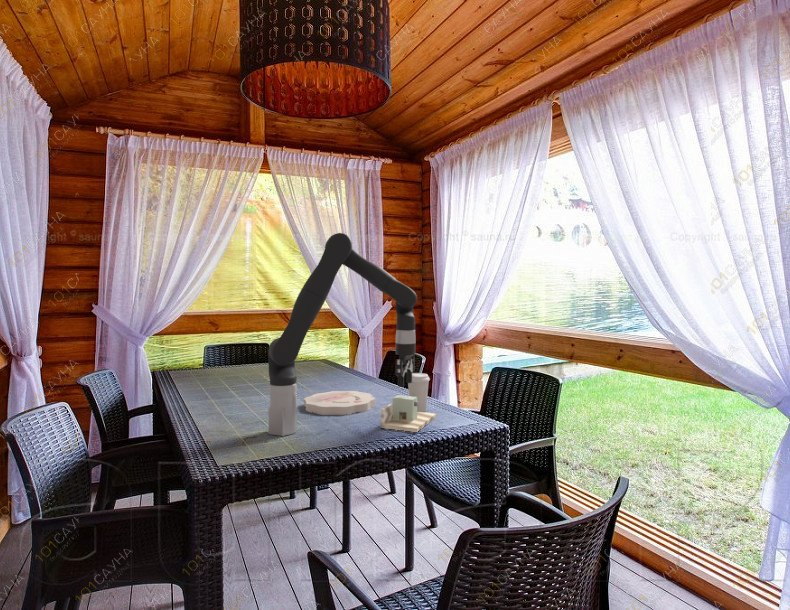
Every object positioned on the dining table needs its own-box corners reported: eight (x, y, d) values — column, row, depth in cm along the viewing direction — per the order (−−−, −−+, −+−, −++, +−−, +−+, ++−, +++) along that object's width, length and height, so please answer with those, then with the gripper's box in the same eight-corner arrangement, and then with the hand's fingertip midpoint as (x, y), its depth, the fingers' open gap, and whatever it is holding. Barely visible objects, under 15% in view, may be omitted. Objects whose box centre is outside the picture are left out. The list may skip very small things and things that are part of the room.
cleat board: (417, 433, 173) (417, 413, 172) (380, 428, 178) (380, 409, 178) (436, 417, 193) (436, 399, 193) (403, 413, 198) (403, 396, 198)
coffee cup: (403, 409, 206) (403, 373, 205) (423, 407, 209) (423, 372, 209) (412, 414, 197) (412, 377, 196) (433, 412, 201) (433, 376, 200)
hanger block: (415, 421, 182) (415, 400, 181) (392, 418, 185) (392, 397, 185) (419, 418, 186) (419, 397, 186) (397, 415, 190) (397, 395, 189)
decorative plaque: (338, 388, 232) (388, 396, 214) (338, 395, 233) (388, 405, 214) (289, 399, 208) (341, 410, 190) (289, 408, 209) (341, 420, 190)
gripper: (408, 344, 177) (407, 389, 177) (421, 340, 190) (420, 382, 191) (388, 343, 180) (388, 387, 180) (403, 339, 193) (402, 380, 193)
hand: (405, 384), depth 185 cm, fingers open, 8 cm apart
